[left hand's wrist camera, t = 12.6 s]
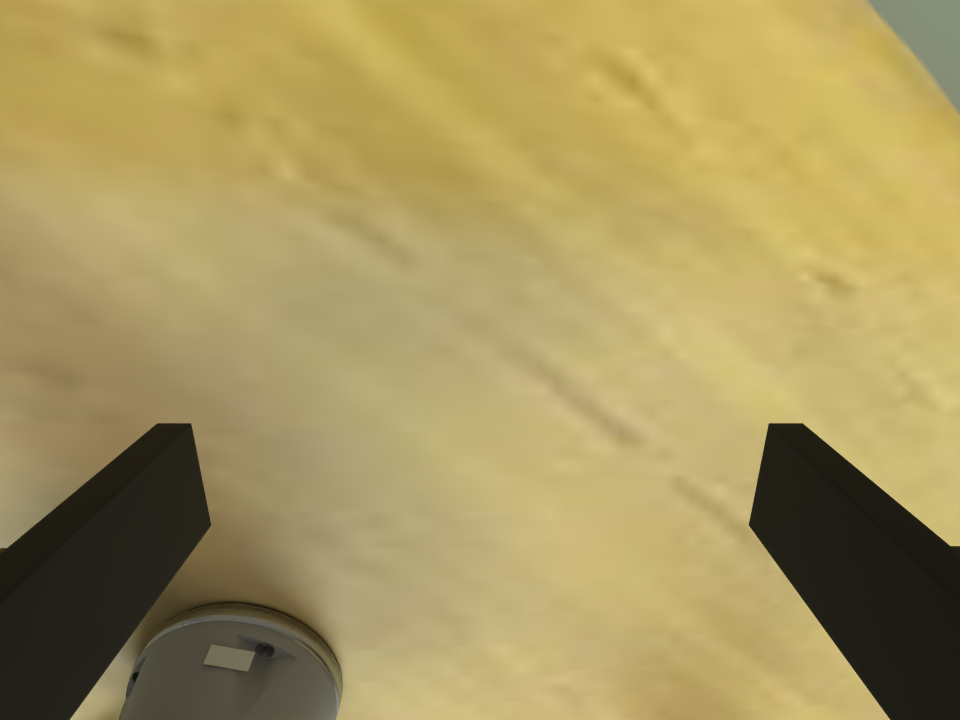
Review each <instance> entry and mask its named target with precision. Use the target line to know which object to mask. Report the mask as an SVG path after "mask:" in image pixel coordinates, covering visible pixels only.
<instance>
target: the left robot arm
mask: <svg viewBox="0 0 960 720" xmlns="http://www.w3.org/2000/svg"><path fill="white" fill-rule="evenodd" d="M210 526H211V522H210V517H209V512H208V507H207V502H206V497H205V492H204V486H203V481H202V476H201V471H200V466H199V461H198V456H197V451H196V446H195V441H194V436H193V431H192V425H191V423H157V424H156V425H155V426H154V427H153V428H151V429H150V430H149V431H148V432H147V433H145V434H144V435H143V436H142V437H141V438H139V439H138V440H137V441H136V442H135V443H133V444H132V445H131V446H130V447H129V448H127V449H126V450H125V451H124V452H122V453H121V454H120V455H119V456H118V457H116V458H115V459H114V460H113V461H112V462H110V463H109V464H108V465H107V466H106V467H104V468H103V469H102V470H101V471H100V472H98V473H97V474H96V475H95V476H94V477H92V478H91V479H90V480H89V481H88V482H86V483H85V484H84V485H83V486H82V487H80V488H79V489H78V490H77V491H76V492H74V493H73V494H72V495H71V496H70V497H68V498H67V499H66V500H65V501H63V502H62V503H61V504H60V505H59V506H57V507H56V508H55V509H54V510H53V511H51V512H50V513H49V514H48V515H47V516H45V517H44V518H43V519H42V520H41V521H39V522H38V523H37V524H36V525H35V526H33V527H32V528H31V529H30V530H29V531H27V532H26V533H25V534H24V535H23V536H21V537H20V538H19V539H18V540H17V541H15V542H14V543H13V544H12V545H11V546H9V547H8V548H1V549H0V720H70V719H71V717H72V716H73V714H74V713H75V712H76V710H77V709H78V708H79V706H80V705H81V703H82V702H83V701H84V699H85V698H86V697H87V695H88V694H89V692H90V691H91V690H92V688H93V687H94V686H95V684H96V683H97V681H98V680H99V679H100V677H101V676H102V675H103V673H104V672H105V670H106V669H107V668H108V666H109V665H110V664H111V662H112V661H113V659H114V658H115V657H116V655H117V654H118V653H119V651H120V650H121V648H122V647H123V646H124V644H125V643H126V642H127V640H128V639H129V637H130V636H131V635H132V633H133V632H134V631H135V629H136V628H137V626H138V625H139V624H140V622H141V621H142V620H143V618H144V617H145V615H146V614H147V613H148V611H149V610H150V609H151V607H152V606H153V604H154V603H155V602H156V600H157V599H158V598H159V596H160V595H161V593H162V592H163V591H164V589H165V588H166V587H167V585H168V584H169V582H170V581H171V580H172V578H173V577H174V576H175V574H176V573H177V571H178V570H179V569H180V567H181V566H182V565H183V563H184V562H185V560H186V559H187V558H188V556H189V555H190V554H191V552H192V551H193V549H194V548H195V547H196V545H197V544H198V543H199V541H200V540H201V538H202V537H203V536H204V534H205V533H206V532H207V530H208V529H209V527H210ZM749 526H750V527H751V529H752V530H753V532H754V533H755V534H756V536H757V537H758V538H759V540H760V541H761V543H762V544H763V545H764V547H765V548H766V549H767V551H768V552H769V554H770V555H771V556H772V558H773V559H774V560H775V562H776V563H777V565H778V566H779V567H780V569H781V570H782V571H783V573H784V574H785V576H786V577H787V578H788V580H789V581H790V582H791V584H792V585H793V587H794V588H795V589H796V591H797V592H798V593H799V595H800V596H801V598H802V599H803V600H804V602H805V603H806V604H807V606H808V607H809V609H810V610H811V611H812V613H813V614H814V615H815V617H816V618H817V620H818V621H819V622H820V624H821V625H822V626H823V628H824V629H825V631H826V632H827V633H828V635H829V636H830V637H831V639H832V640H833V642H834V643H835V644H836V646H837V647H838V648H839V650H840V651H841V653H842V654H843V655H844V657H845V658H846V659H847V661H848V662H849V664H850V665H851V666H852V668H853V669H854V670H855V672H856V673H857V675H858V676H859V677H860V679H861V680H862V681H863V683H864V684H865V686H866V687H867V688H868V690H869V691H870V692H871V694H872V695H873V697H874V698H875V699H876V701H877V702H878V703H879V705H880V706H881V708H882V709H883V710H884V712H885V713H886V714H887V716H888V717H889V719H890V720H960V546H949V545H948V544H947V543H946V542H945V541H943V540H942V539H941V538H940V537H939V536H937V535H936V534H935V533H934V532H933V531H931V530H930V529H929V528H928V527H927V526H925V525H924V524H923V523H922V522H921V521H919V520H918V519H917V518H916V517H915V516H913V515H912V514H911V513H910V512H909V511H907V510H906V509H905V508H904V507H903V506H901V505H900V504H899V503H898V502H897V501H895V500H894V499H893V498H892V497H890V496H889V495H888V494H887V493H886V492H884V491H883V490H882V489H881V488H880V487H878V486H877V485H876V484H875V483H874V482H872V481H871V480H870V479H869V478H868V477H866V476H865V475H864V474H863V473H862V472H860V471H859V470H858V469H857V468H856V467H854V466H853V465H852V464H851V463H850V462H848V461H847V460H846V459H845V458H844V457H842V456H841V455H840V454H839V453H838V452H836V451H835V450H834V449H833V448H831V447H830V446H829V445H828V444H827V443H825V442H824V441H823V440H822V439H821V438H819V437H818V436H817V435H816V434H815V433H813V432H812V431H811V430H810V429H809V428H807V427H806V426H805V425H804V424H803V423H769V425H768V430H767V436H766V441H765V446H764V451H763V456H762V461H761V466H760V471H759V476H758V481H757V486H756V492H755V497H754V502H753V507H752V512H751V517H750V522H749ZM341 696H342V678H341V673H340V669H339V666H338V664H337V661H336V659H335V658H334V656H333V654H332V652H331V651H330V650H329V648H328V647H327V646H326V644H325V643H324V642H323V641H322V640H321V639H320V638H319V637H318V636H317V635H316V634H315V633H314V632H312V631H311V630H310V629H309V628H307V627H306V626H304V625H303V624H301V623H300V622H298V621H296V620H294V619H293V618H291V617H288V616H286V615H284V614H282V613H279V612H276V611H274V610H270V609H267V608H263V607H259V606H254V605H247V604H234V603H226V604H213V605H207V606H202V607H198V608H195V609H191V610H189V611H186V612H184V613H182V614H180V615H178V616H176V617H174V618H172V619H171V620H169V621H168V622H166V623H165V624H164V625H163V626H162V627H160V628H159V630H158V631H157V632H156V633H155V634H154V635H153V637H152V638H151V639H150V641H149V642H148V644H147V645H146V647H145V648H144V650H143V651H142V653H141V654H140V656H139V657H138V659H137V661H136V663H135V665H134V667H133V670H132V673H131V676H130V679H129V682H128V686H127V692H126V701H125V703H124V705H123V708H122V711H121V714H120V717H119V720H336V717H337V713H338V709H339V705H340V701H341Z"/></svg>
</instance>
